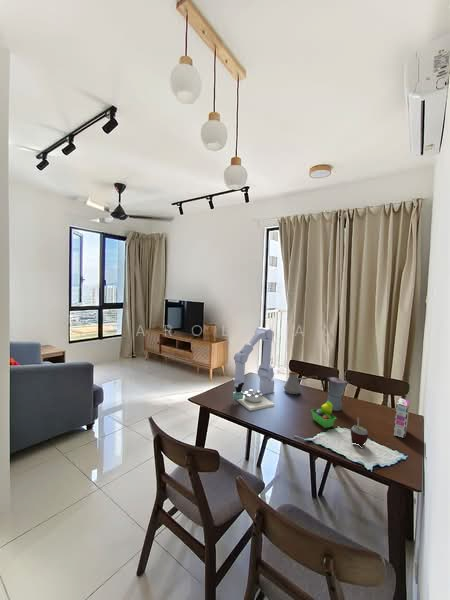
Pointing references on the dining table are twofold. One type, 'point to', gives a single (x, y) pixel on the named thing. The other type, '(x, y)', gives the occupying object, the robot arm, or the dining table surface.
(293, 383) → the coffee pot
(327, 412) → the fruit basket
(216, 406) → the dining table surface
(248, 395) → the teal elongated tool
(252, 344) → the robot arm
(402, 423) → the candy bar box
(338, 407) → the moka pot
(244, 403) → the base plate
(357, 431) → the mate gourd
